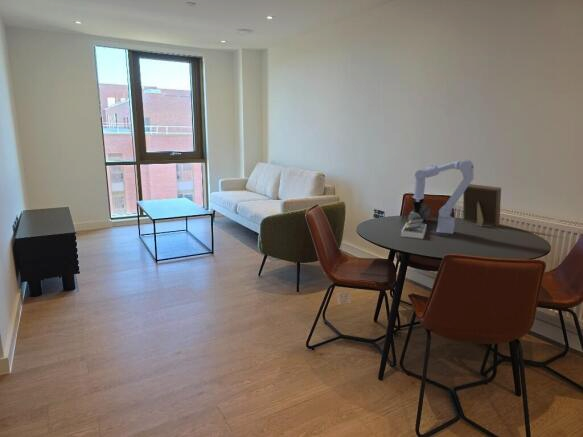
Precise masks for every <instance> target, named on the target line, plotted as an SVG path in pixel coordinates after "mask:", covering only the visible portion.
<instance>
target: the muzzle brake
mask: <svg viewBox="0 0 583 437" xmlns="http://www.w3.org/2000/svg"><path fill="white" fill-rule="evenodd" d="M430 214H431V207H429V206H428V205H427V204H422V205H421V209H420V211H419V213H415V208H414V209H413V210H411V211H410V212H408V214H407V222H409V221H411V220H417V219H423V221H424V220H425V219H426V218H428V217H429V215H430Z"/></svg>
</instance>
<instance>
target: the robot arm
mask: <svg viewBox="0 0 583 437" xmlns="http://www.w3.org/2000/svg"><path fill="white" fill-rule="evenodd" d="M474 168H475V167H474V164H473V162H472V161H471V160H469V159H464V160H458V161H456V160H455V161H453V162H450V163H446V164H443V165H440V166H437V165H433V164H431V165H430V166H429V167H428V166H427V167H423V168H422V169H419V170H417V171H416V172H414V178H415V181H414V191H413V192H414V193H413V195H411V198H412V199H414V200H412V204H413V206H414V207H413V208H414V209H415V213H419V211H420V209H422V208H421V205H423V202H424V201H425V185H426V179H428V178H430V177H434V176H438V175H439V173H440V172H445V171H448V170H452V169H454V170H459V171H460V172H461V173H462V177H463V179H462V180H461V181H460V183H459V185H458V186H457V188H455V189H454V192H453V193H452V194H451V196H449V199H448V200H447V202H446V203H445V204H444V205H443V206H441V207H440V208H439V210H438V218H437V228H436V231H435V232H436V233H442V234H451V235H453V234H454V232H455V227H456V226H455V222H456V217H453V216H451V214H452V213H453V209H454V207H455V206H456V204H457V203H458V201H459V200H460V198H461V197H462V195H463V193H464V191H465V190H466V189H467V187H468V186H469V184H471V183H472V182H473V180H474Z"/></svg>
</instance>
